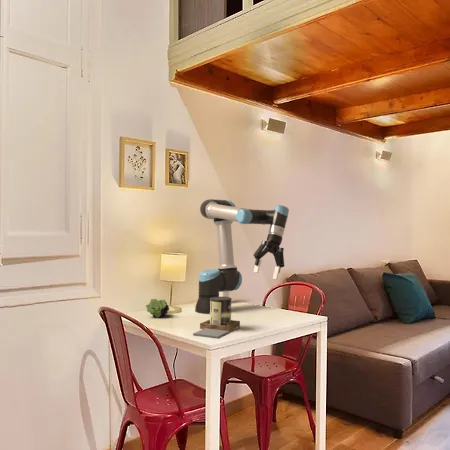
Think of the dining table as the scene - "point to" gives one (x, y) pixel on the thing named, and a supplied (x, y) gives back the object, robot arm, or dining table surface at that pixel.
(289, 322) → the dining table surface
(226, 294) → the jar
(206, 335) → the mat
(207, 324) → the square wooden frame
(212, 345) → the dining table surface
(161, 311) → the fruit
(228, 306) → the coffee can
